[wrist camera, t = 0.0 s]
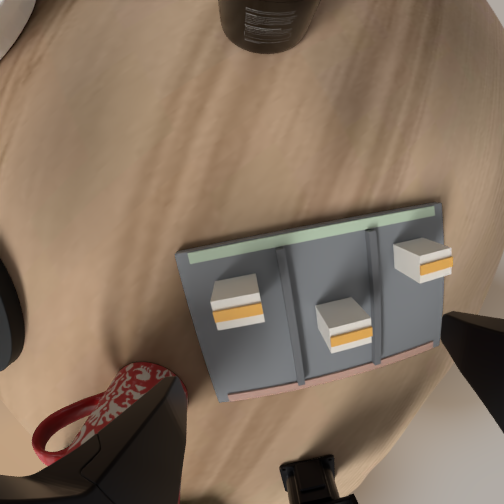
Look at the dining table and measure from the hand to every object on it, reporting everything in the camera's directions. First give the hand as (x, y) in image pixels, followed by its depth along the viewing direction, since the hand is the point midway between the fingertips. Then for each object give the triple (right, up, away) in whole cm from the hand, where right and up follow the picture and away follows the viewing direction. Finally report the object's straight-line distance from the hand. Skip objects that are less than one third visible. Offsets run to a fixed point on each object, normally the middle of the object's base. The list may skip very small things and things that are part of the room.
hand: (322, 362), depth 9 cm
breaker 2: (+11, +3, +13) cm, 17 cm away
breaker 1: (-3, +1, +14) cm, 14 cm away
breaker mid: (+4, -1, +14) cm, 15 cm away
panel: (+4, -1, +15) cm, 16 cm away
